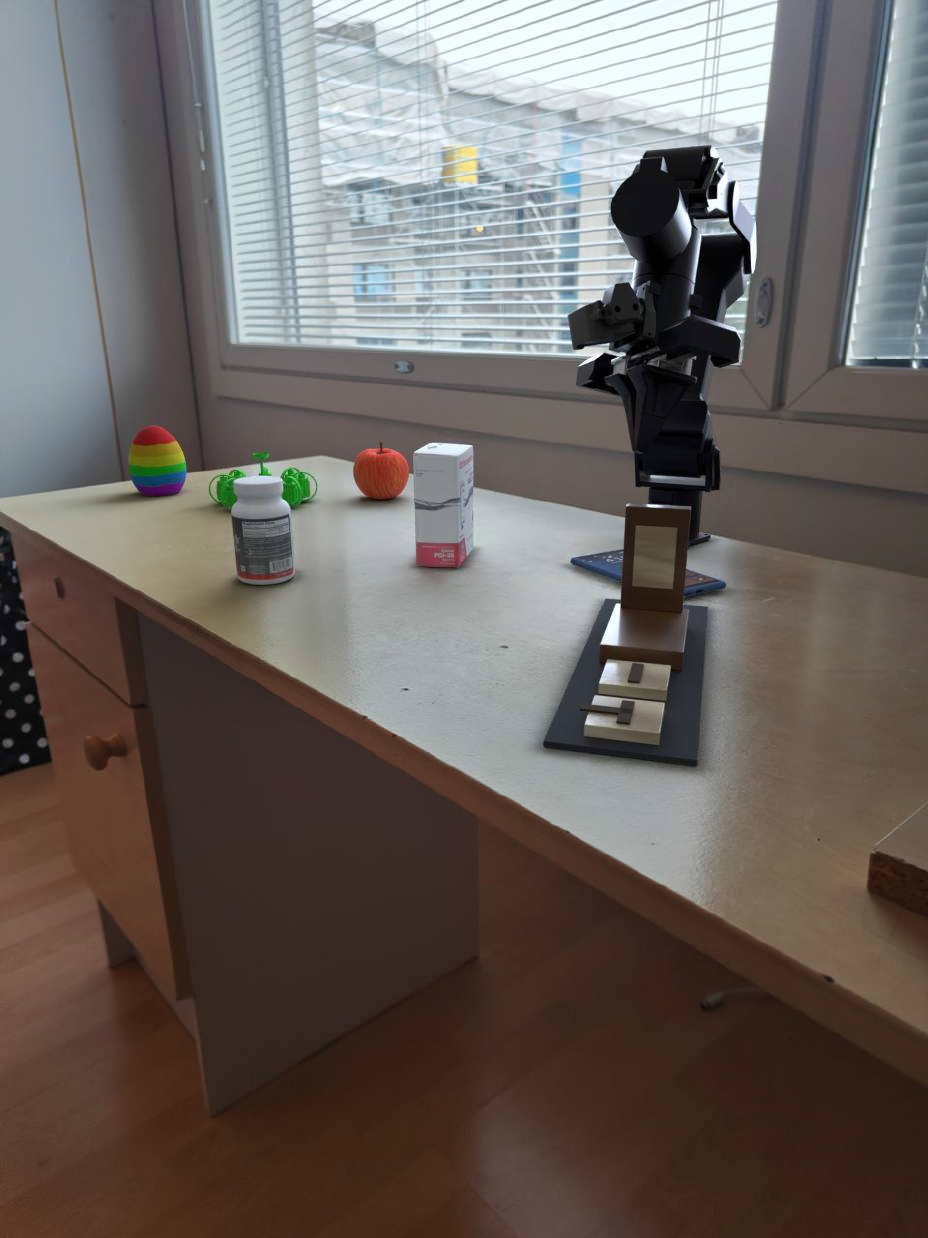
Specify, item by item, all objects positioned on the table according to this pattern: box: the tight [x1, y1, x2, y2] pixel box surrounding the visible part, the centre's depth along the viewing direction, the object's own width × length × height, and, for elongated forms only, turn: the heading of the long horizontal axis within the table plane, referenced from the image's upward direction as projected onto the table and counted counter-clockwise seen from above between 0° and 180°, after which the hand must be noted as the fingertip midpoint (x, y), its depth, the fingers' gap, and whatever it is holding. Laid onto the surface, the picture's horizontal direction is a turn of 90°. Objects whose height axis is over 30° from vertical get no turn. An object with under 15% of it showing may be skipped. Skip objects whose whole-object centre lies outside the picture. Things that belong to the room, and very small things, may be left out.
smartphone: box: [570, 548, 727, 598], centre depth 85 cm, size 8×1×15 cm
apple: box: [352, 441, 410, 500], centre depth 124 cm, size 8×8×8 cm
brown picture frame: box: [599, 502, 691, 671], centre depth 65 cm, size 10×6×10 cm, turn 164°
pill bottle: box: [230, 475, 296, 586], centre depth 85 cm, size 6×6×10 cm
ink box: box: [412, 442, 474, 568], centre depth 91 cm, size 9×5×12 cm, turn 168°
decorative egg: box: [127, 424, 187, 497], centre depth 128 cm, size 8×8×10 cm
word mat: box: [542, 598, 709, 767], centre depth 64 cm, size 29×9×1 cm, turn 164°
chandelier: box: [208, 452, 318, 510], centre depth 121 cm, size 15×15×7 cm
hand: (639, 452), depth 80 cm, fingers closed
